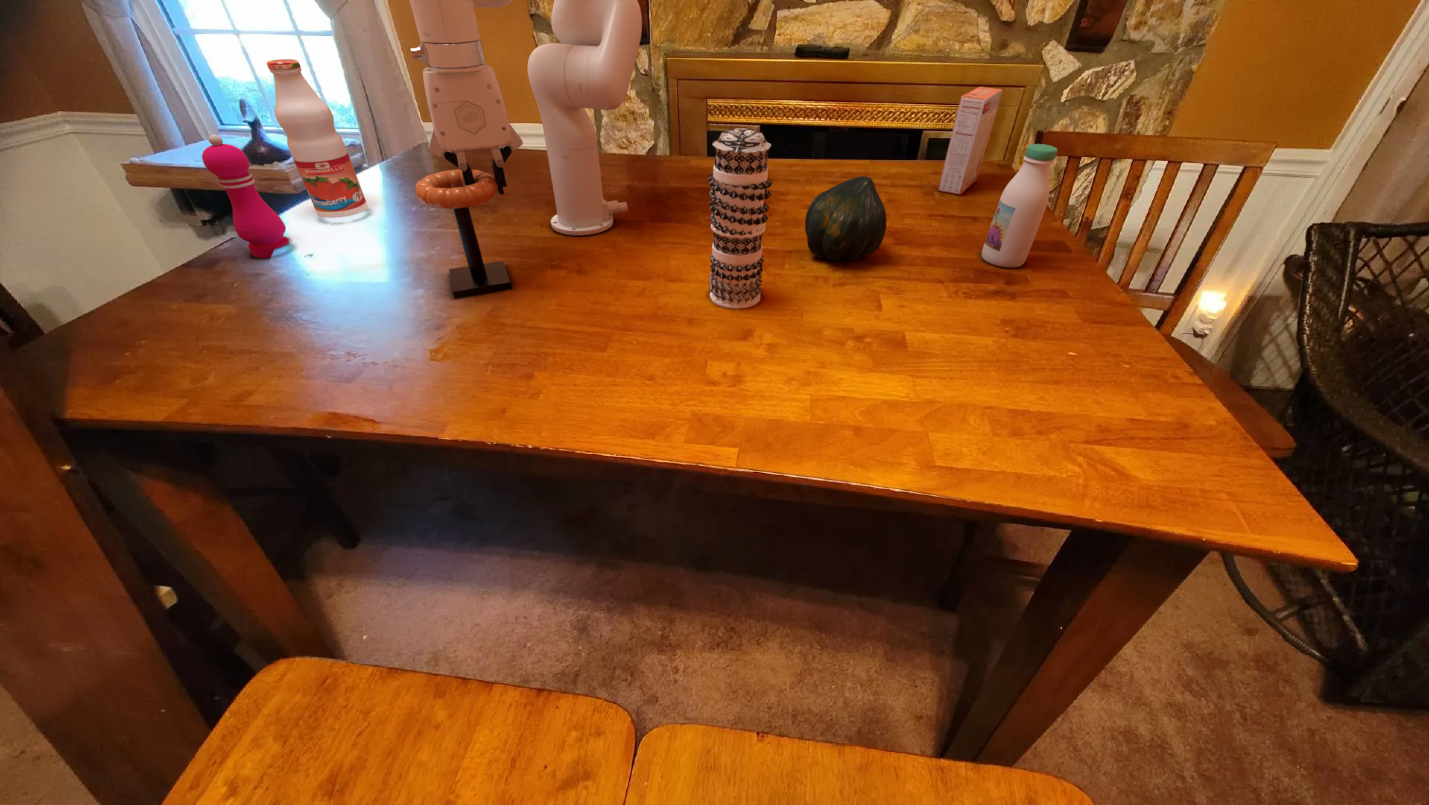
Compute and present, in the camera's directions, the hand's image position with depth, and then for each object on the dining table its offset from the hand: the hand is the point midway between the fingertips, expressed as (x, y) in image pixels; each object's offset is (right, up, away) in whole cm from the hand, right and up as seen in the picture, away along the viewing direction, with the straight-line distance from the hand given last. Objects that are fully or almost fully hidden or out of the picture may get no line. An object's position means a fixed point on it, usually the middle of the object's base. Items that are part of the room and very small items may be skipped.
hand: (487, 192), depth 87 cm
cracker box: (+96, +21, +52) cm, 111 cm away
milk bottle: (+90, -6, +18) cm, 92 cm away
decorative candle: (+39, -16, +5) cm, 42 cm away
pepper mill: (-46, -5, +16) cm, 49 cm away
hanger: (-4, -12, +8) cm, 15 cm away
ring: (-4, 0, -2) cm, 4 cm away
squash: (+60, -5, +19) cm, 63 cm away
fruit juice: (-42, +6, +30) cm, 52 cm away
